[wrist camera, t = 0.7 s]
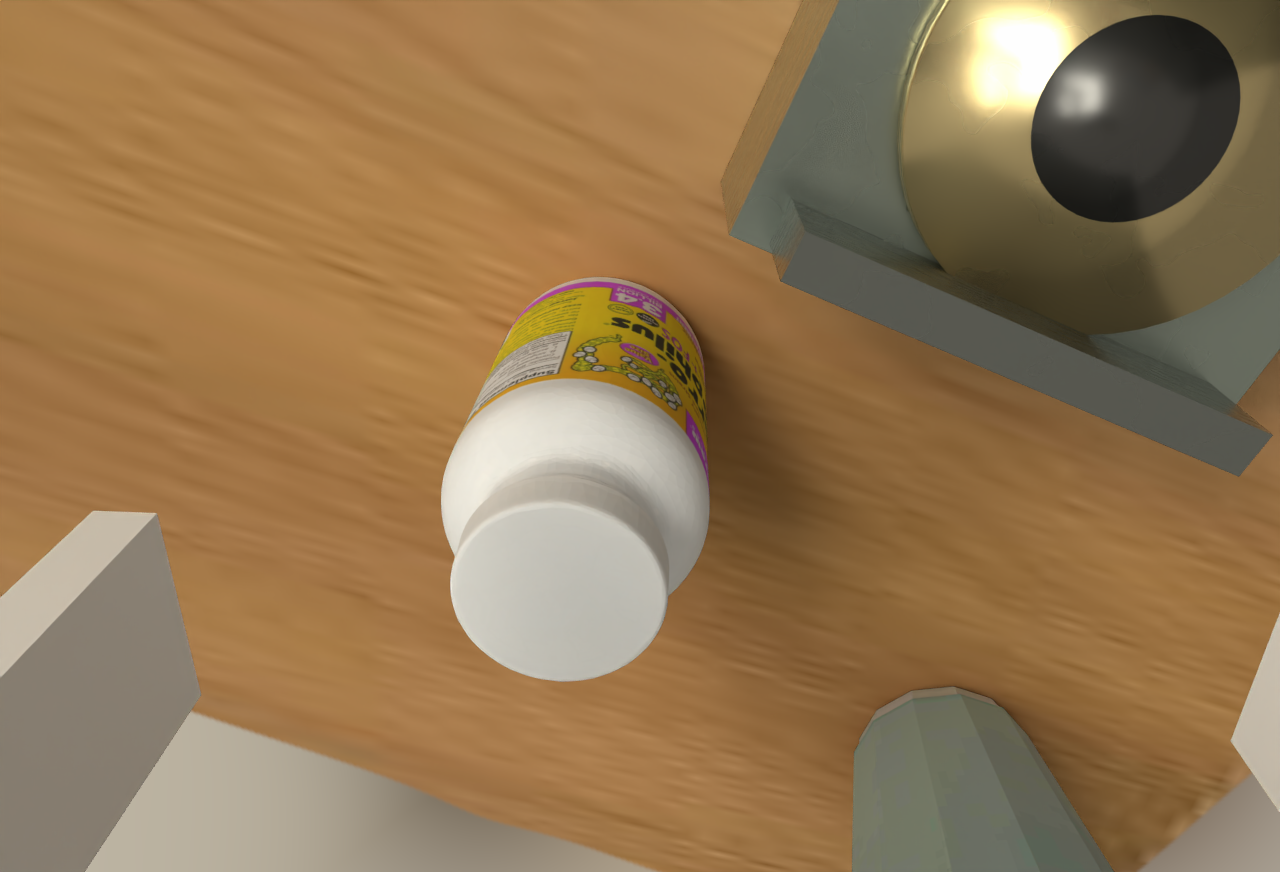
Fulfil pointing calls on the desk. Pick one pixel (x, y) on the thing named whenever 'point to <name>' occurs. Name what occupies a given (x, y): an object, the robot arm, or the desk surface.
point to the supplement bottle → (580, 482)
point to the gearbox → (1038, 194)
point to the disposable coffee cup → (960, 793)
